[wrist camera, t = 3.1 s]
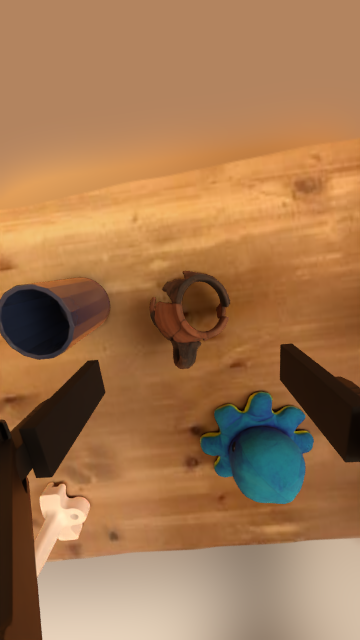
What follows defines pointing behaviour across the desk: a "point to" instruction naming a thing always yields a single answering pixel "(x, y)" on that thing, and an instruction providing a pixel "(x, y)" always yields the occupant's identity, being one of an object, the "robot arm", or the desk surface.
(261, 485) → the plush toy
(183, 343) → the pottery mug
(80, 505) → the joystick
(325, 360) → the desk surface
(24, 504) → the robot arm
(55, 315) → the cup
